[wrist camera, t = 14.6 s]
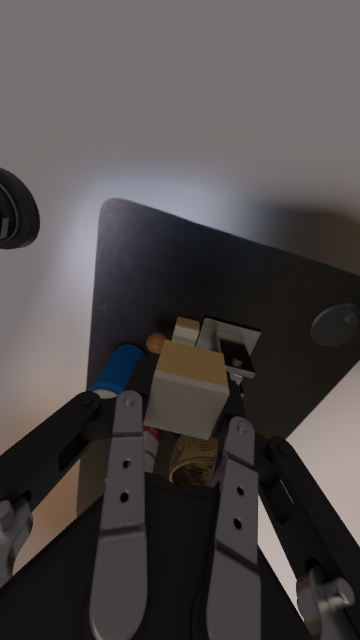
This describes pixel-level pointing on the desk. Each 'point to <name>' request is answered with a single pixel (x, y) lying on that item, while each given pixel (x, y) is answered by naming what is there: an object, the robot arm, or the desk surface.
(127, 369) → the beverage can
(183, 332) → the cake
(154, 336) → the lever
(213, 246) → the desk surface
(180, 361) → the cake slice
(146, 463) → the ink box
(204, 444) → the ceramic bowl
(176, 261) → the desk surface
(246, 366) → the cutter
